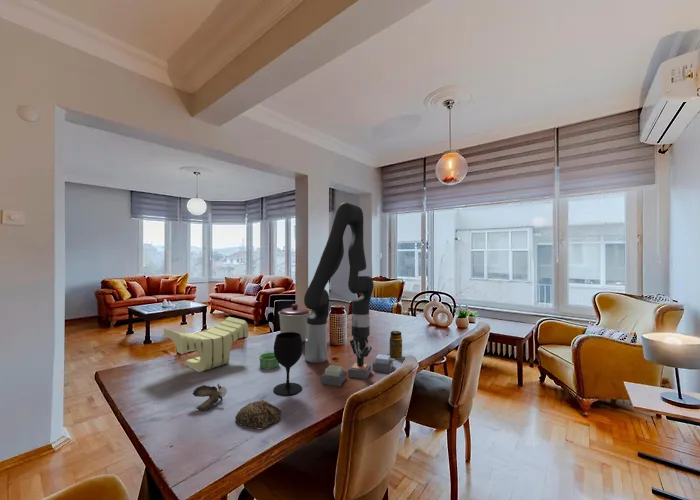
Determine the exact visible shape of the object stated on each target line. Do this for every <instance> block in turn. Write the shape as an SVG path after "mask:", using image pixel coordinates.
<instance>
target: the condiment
mask: <svg viewBox="0 0 700 500" xmlns="http://www.w3.org/2000/svg"><path fill="white" fill-rule="evenodd" d="M386 355H390V359H393V361H396V360H399V359H400V360H401V359H405V358H404V357H405V356H404V355H403V337H402V332H401V331H400V330H392V331H390V337H389V353H388V354H386Z"/></svg>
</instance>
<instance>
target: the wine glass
mask: <svg viewBox="0 0 700 500" xmlns="http://www.w3.org/2000/svg"><path fill="white" fill-rule="evenodd" d="M303 346H304V345H303V342H302V339H301V335H300V334H299V333H296V332H284V333H281V332H280V333H277V334H276V335H275V339H274V342H273V353H274V355H275V358H276V360H277V361H278V362H279V365H281V366H282V367H284V368H285V371H286V380H285V381H286V382H283V383H280V384H277V385H276V386H274V387H273V390H272V392H273V393H274V395H276V396H277V395H278V396H280V397H291V396H295V395H298V394H299V393H301V392H302V390H303V387H302V385H301V384H299V383H296V382H290V371H291V368H292V367H293V366H295V364H296V363H298V362H299V360H300V359H301V357H302V353H303Z"/></svg>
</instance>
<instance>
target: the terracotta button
mask: <svg viewBox="0 0 700 500" xmlns="http://www.w3.org/2000/svg"><path fill="white" fill-rule="evenodd" d="M354 363H355V364H354V365H353V366H352V369H357V370H366V368H367V367H368V365H369V364H367V363H364V365H363V366H361V367H359V366H357V362H354Z"/></svg>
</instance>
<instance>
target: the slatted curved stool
mask: <svg viewBox="0 0 700 500" xmlns="http://www.w3.org/2000/svg"><path fill="white" fill-rule="evenodd" d="M163 336H165V337H167V338H169V339H170V340H172V341H173V343H174V345H175V348H176V352H177V353H179V354H181V355H184V354H186V353H188V351H189V352H190V351H195V350H196V351H197V353H198V354H199V356H196V357H194V358H189V359H186V360H185V362H184V364H187V365H189V366H191V367H192V368H195V369H197V370H198V371H200V372H199V373H201V372H204V371H207V370H210V368H211V369H213V368H217V367H220V366H224V365H227V364H229V363H230V355H231V354H230V353H231V350H232V347H233V343H235V342H236V341H237V340H238V339H242V338H249V325H248V322H247V321H246V320H245V319H241V318H236V317H231V316H228V317H226V318H225V320H222V321H221V322H219V324H216V325H215V326H214V327H211V328H208V329H205V330H204V331H203V330H202V331H199V332H194V333H193V332H191V333H190V332H188V333H186V332H177V331H174V330H170V329H166V328H163ZM198 371H197V372H198Z"/></svg>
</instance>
